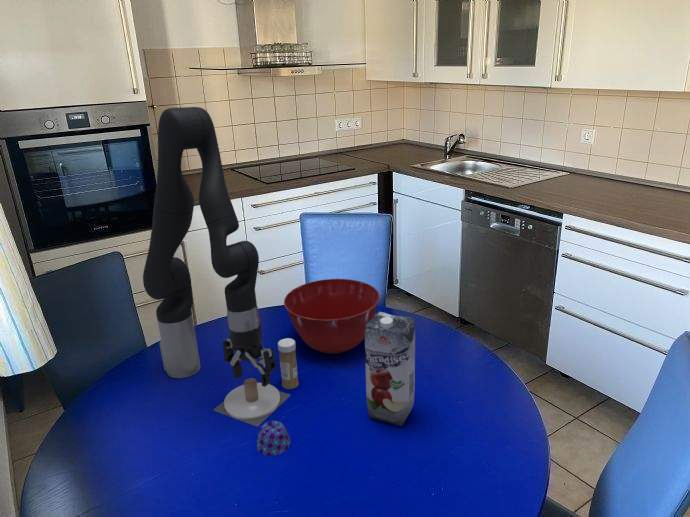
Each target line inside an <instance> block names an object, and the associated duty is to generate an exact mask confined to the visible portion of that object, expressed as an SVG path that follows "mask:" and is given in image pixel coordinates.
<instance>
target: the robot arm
mask: <svg viewBox="0 0 690 517" xmlns="http://www.w3.org/2000/svg"><path fill="white" fill-rule="evenodd" d="M157 125H158V126H157V127H158V128H157V175H156V186H155V195H154V200H153V201H154V202H153V209H152V210H153V212H152V222H151V223H152V224H151V231H150V233H151V234H150V240H149V245H148V246H149V247H148V251H147V256H146V260H145V264H144V268H143V272H142V273H143V274H142V283H143V284H142V285H143V287H144V290H145V293H146V294H147V295H148V297H150V298H152V299H153V300H157V301H159V300H160V301H161V300H162V301H161V302H160V303H159V304H158V306H157V307H156V311H155V314H156V321H157V326H158V329H159V330H158V331H159V337H160V341H159V348H160V354H161V358H162V363H163V370H164V371H165V372H166V374H167V376H169V377H170V378H172V379H173V378H174V379H184V378H189V377H191V376H193V375H196V374H197V373H198V372H199V371H200V369H201V362H200V355H199V349H198V343H197V335H196V329H195V323H194V318H193V311H192V309H193V304H194V297H193V286H192V279H191V274H190V270H189V268H188V266H187V265H186V263H185V262H184V261H183V260H182V258H179V257H176V256H175V255H176V252H177V250H178V249H179V247H180V245H181V244H182V242H183V241H184V239H185V237H186V236H187V233H188V232H189V229H190V228H191V226H192V220H193V214H194V207H195V197H194V195H193V192H192V190H191V188H190V186H189V185H188V184H189V183H188V182H187V181H186V179H185V177H184V174H183V172H182V158H183V152H184V151H185V150H186V151H187V150H195V149H196V150H197V152H198V155H199V158H200V160H201V167H202V168H201V170H202V172H201V180H200V185H199V191H198V201H199V202H198V203H199V207H200V208H199V209H200V211H201V213H202V216H203V220H204V223H205V225H206V229H207V230H208V236H209V246H210V261H211V265H212V268H213V271H214V273H215V274H217V275H218V276H219V277H220V278H223V279H229V278H232V277H235V276H236V277H235V279H234V278H233V280H232V281H231V282H228V284H226V285H225V287H224V299H225V305H226V318H227V325H228V332H229V337H228V338H227V339H225V340H223V341H222V350H223V359H224V362H225V363H230V366H232V368H231V369H232V374H233V376H234V378H235V379H237V380H238V379H240V378H241V377H242V376H243V370H242V362H240V361H243V362H248V363H251V364H252V365H253V366H254V368H257V369H258V371H259V372H260V380H261V382H260V383H262V386H264V387H266V386H267V385H268V384H270V383H271V375H270V374H272V372H273V371H275V370H276V369H277V365H276V359H275V353H274V352H275V351H274V348H273V347H270V346H269V348H264V347H263V345H262V339H263V334H262V327H261V326H262V325H261V319H260V311H259V309H258V305H257V295H256V285H257V277H258V272H259V265H260V264H259V263H260V259H259V258H260V257H259V252H258V250H257V249H258V248H256V246H255V245H254V244H253V243H252V242H250V240H249V241H248V240H241V241H238V242H234V243H231V244H227V239H228V236H230V235H231V234H234V233H235V232H236V231H238V230H239V227H240V222H239V220H238V217H237V214H236V212H235V208H234V204H233V203H232V199H231V197H230V194H229V191H228V188H227V184H226V179H225V175H224V169H223V163H222V157H221V152H220V149H219V148H220V147H219V143H218V138H217V133H216V128H215V126H214V122H213V119H212V117H211V116H210V113H209V112H208V111H207V110H206V109H205V108H202V107H199V106H189V107H188V106H186V107H185V106H184V107H183V106H181V107H169V108H166V109H164V111H162V112H161V114H160V116H159V119H158V124H157ZM259 359H260V360H259ZM257 360H259V361H257Z"/></svg>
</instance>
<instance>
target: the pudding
mask: <svg viewBox="0 0 690 517" xmlns="http://www.w3.org/2000/svg"><path fill="white" fill-rule="evenodd" d="M259 427H260V428H259V429H258V433H257V440H256V450H257V452H258V453H262V455H263V456H266V457H267V456H268V457H269V456H273V457H274V456H279V455H281V454H282V453H283V452H286V451H288V450H289V449H290V445H291V444H292V440H291V437H290V435H289V433H288V430H287V428H286V426H285V424H284V423H283V422H281V421H277V420H271V421H266V422H265V423H263V425H261V426H259Z"/></svg>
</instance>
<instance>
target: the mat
mask: <svg viewBox="0 0 690 517" xmlns="http://www.w3.org/2000/svg"><path fill="white" fill-rule="evenodd" d="M278 391H279V393H280V403H279V406H278V407H277V408H276V409H275V410H274V411H273V412H272V413H270V414H269V415H267V416H265V417H262V418H259V419H254V420H239V419H236V420H238V421H241V422H243V423H244V424H245V423H246V424H248V425H252V426H253V427H257V428H258V427H260V425H261V424H263V422H265V420H266V419H268V418H269V417H270V416H271V415H272V414H273V413H274V412H276V410H277V409H279V407H280V406H281V405H283V403H284V402H286V401H287V399H289V397H290V396H292V395H291V394H290V393H286V392H283V391H280V390H278ZM212 411H213V412H216V413H218V414H222V415H224V416H227V417H230V418H233V417H231V416H229V415H228V414H227V412H226V411H225V407H224V401H222V402H221V403H220V404H219V405H217V406H216V407H215V408H213V410H212ZM233 419H234V418H233Z"/></svg>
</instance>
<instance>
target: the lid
mask: <svg viewBox="0 0 690 517" xmlns="http://www.w3.org/2000/svg"><path fill="white" fill-rule="evenodd" d="M257 381H258V380H257V379H256V378H254V377H252V378H251V377H250V378H246V379H245V380H244V381H243V384H242V385H239V386H237V387H235V388H234V389H232V390H230V391H229V392H228V393H227V395H226V396H225V398H224V401H223V402H224V407H225V411H226V412H227V414H228V415H229V416H231V417H230V418H232V417H233V419H235V420H237V419H239V420H238V421H240V420H254V419H259V418H262V417H265V416H267V415H269V414H270V413H272V412H273V411H274V410H275V409H276V408H277V407H278V406H279V403H280V393H279V391H280V390H279V389H278V388H277V387H275V386H274V385H272V384H270V383H269V384H268V385H267V386H266V387H264V386H262V382H257ZM279 407H280V406H279ZM279 407H278V408H279ZM278 408H277V409H278ZM277 409H276V410H277ZM276 410H275V411H276ZM275 411H274V412H275ZM274 412H273V413H274ZM273 413H272V414H273ZM229 416H228V417H229Z"/></svg>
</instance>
